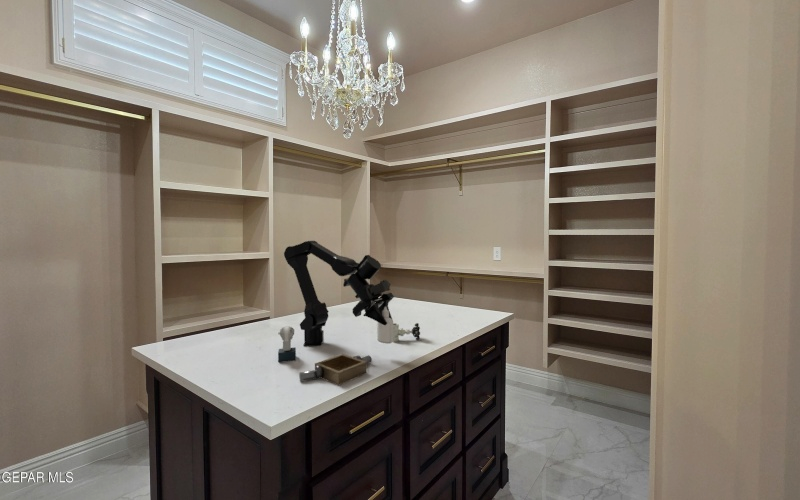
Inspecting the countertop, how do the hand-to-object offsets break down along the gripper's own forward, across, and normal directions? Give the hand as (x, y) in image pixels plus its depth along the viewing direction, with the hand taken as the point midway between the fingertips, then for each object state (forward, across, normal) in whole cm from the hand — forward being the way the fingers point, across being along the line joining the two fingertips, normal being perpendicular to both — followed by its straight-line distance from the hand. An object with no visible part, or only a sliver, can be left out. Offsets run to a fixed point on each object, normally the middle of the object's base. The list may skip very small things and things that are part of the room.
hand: (388, 323), depth 118 cm
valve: (+5, +20, +13) cm, 25 cm away
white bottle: (+4, 0, +6) cm, 7 cm away
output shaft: (0, -25, +17) cm, 30 cm away
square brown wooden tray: (+4, -18, +13) cm, 23 cm away
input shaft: (+6, -9, +12) cm, 16 cm away
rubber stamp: (-12, -17, +30) cm, 37 cm away
